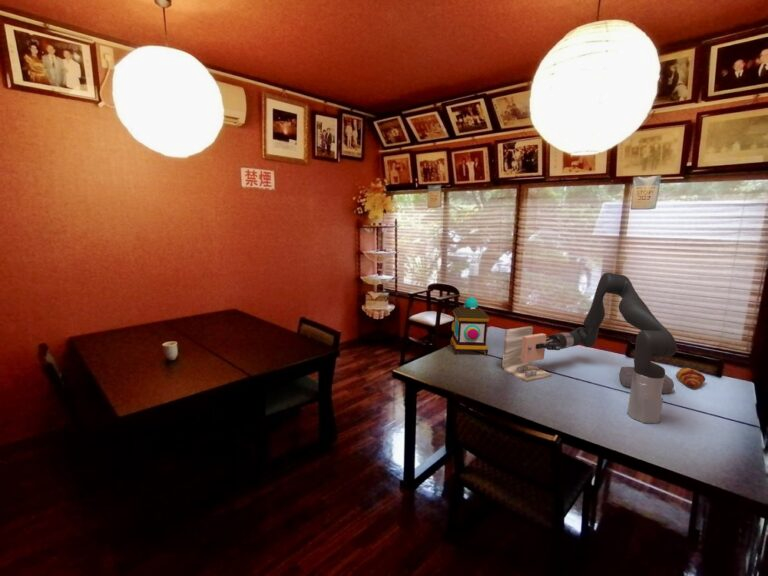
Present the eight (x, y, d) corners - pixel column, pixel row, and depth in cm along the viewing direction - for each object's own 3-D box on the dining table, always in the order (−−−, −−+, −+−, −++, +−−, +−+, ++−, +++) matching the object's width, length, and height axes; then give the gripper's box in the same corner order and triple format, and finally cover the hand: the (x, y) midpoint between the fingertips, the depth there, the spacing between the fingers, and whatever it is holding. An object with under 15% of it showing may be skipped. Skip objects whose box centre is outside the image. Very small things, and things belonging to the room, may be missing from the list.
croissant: (677, 379, 182) (670, 363, 182) (702, 374, 176) (695, 358, 177) (683, 395, 164) (675, 378, 164) (712, 390, 158) (703, 372, 159)
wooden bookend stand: (551, 376, 173) (556, 335, 170) (525, 382, 167) (529, 339, 163) (527, 364, 187) (530, 326, 184) (502, 369, 181) (505, 329, 177)
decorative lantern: (490, 357, 197) (495, 301, 191) (453, 356, 197) (456, 300, 191) (481, 344, 216) (485, 293, 211) (447, 343, 217) (450, 293, 211)
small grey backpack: (621, 389, 162) (677, 399, 154) (624, 371, 160) (681, 380, 153) (616, 376, 176) (667, 384, 168) (618, 359, 174) (670, 367, 166)
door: (545, 359, 174) (548, 335, 172) (526, 363, 169) (528, 338, 167) (539, 357, 177) (542, 333, 175) (520, 361, 172) (522, 336, 170)
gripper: (550, 329, 185) (523, 333, 178) (574, 338, 172) (546, 342, 165) (548, 343, 186) (521, 348, 179) (572, 353, 174) (544, 358, 167)
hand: (533, 345), depth 172 cm, fingers closed on door, 2 cm apart
